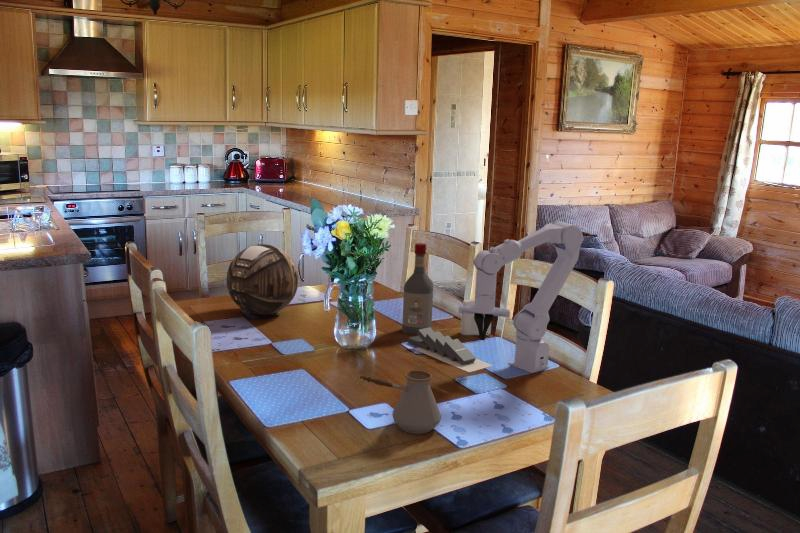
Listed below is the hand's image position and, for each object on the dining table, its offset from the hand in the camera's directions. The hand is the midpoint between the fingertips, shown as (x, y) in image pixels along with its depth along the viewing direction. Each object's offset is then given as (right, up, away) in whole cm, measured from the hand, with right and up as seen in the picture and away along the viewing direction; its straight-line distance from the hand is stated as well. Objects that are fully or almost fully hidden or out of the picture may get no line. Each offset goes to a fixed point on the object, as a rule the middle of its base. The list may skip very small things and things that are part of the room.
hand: (482, 339), depth 201 cm
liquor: (-18, -1, +35) cm, 40 cm away
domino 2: (-11, -5, +15) cm, 19 cm away
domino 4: (-6, -6, +8) cm, 12 cm away
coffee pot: (-24, -17, -39) cm, 49 cm away
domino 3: (-9, -6, +12) cm, 16 cm away
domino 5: (-3, -7, +5) cm, 9 cm away
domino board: (-8, -7, +11) cm, 15 cm away
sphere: (-73, +4, +49) cm, 88 cm away
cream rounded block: (+2, -2, +35) cm, 35 cm away
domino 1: (-13, -4, +17) cm, 22 cm away
